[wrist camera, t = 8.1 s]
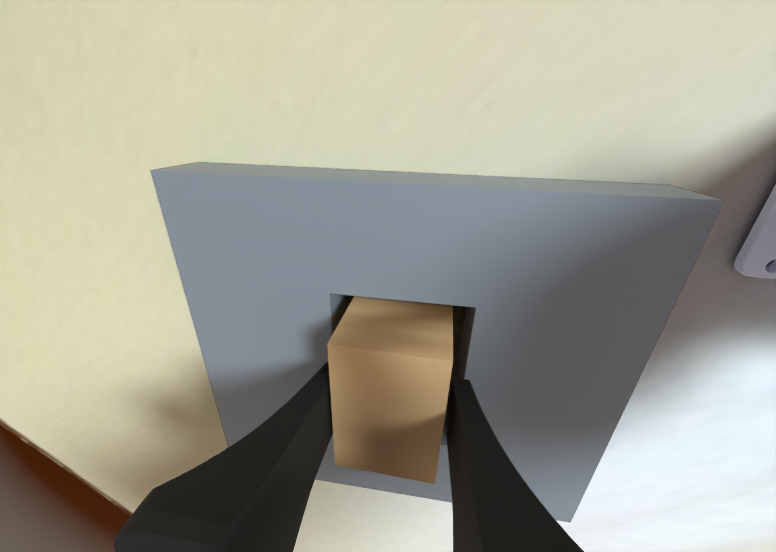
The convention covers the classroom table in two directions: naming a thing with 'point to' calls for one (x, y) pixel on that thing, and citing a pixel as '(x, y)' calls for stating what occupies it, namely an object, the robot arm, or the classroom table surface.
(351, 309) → the oak key block
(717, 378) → the classroom table surface
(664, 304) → the keyed pocket board
